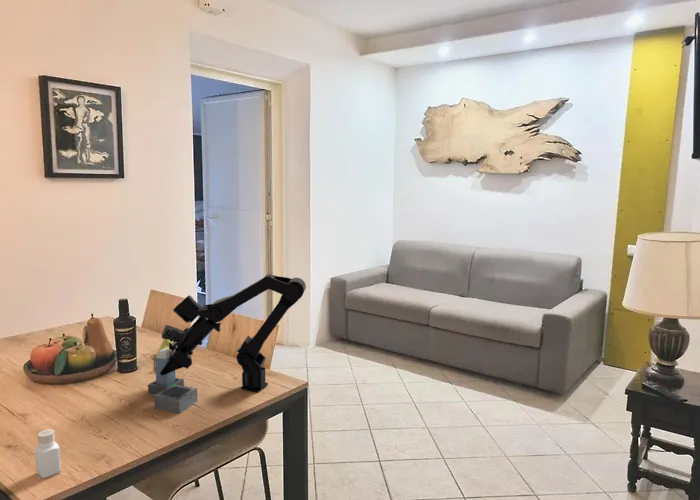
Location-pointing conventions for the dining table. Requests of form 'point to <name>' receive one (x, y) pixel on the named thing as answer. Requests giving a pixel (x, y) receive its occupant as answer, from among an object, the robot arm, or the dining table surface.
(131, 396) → the dining table surface
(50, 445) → the white pill bottle
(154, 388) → the frame
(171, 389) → the socket block
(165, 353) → the plug
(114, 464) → the dining table surface
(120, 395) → the dining table surface
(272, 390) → the dining table surface
